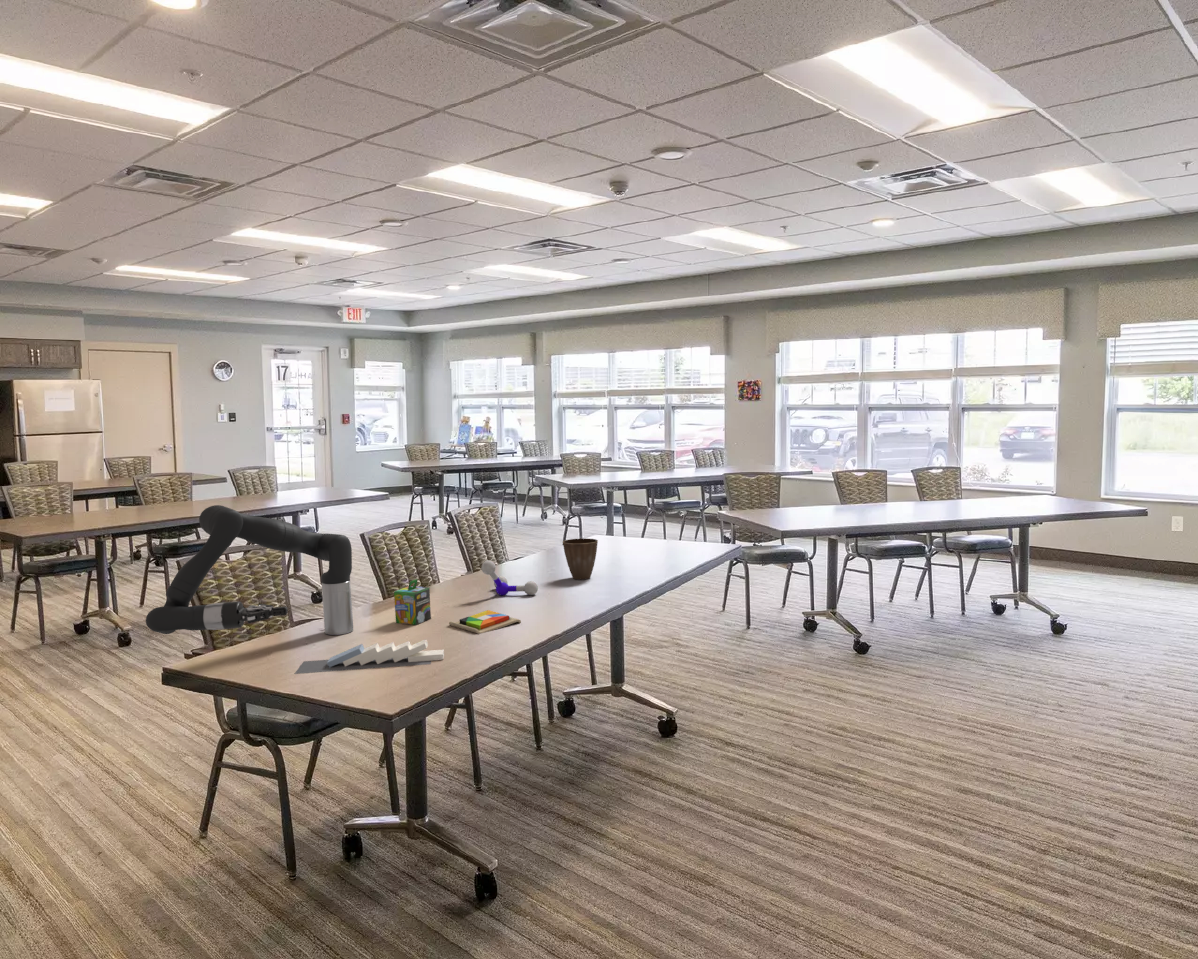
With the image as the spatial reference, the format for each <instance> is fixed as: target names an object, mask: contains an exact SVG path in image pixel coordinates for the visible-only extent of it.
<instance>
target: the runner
mask: <svg viewBox="0 0 1198 959" xmlns="http://www.w3.org/2000/svg"><path fill="white" fill-rule="evenodd" d="M328 660H329V659H317V660H305V661H303V662H302V663H301V664H300V666H299V667H298V668H297V670H296V671H295V672H294V675H299V674H300V675H301V674H312V673H314V674H315V673H326V672H327V673H329V672H341V671H355V670H356V671H357V670H369V669H381V668H382V669H383V668H384V669H385V668H395V667H409V666H410V667H412V666H425V665H426V666H427V665H431V664H432V661H433V660H431V661H417V662H408V657H406V658H404V659H402V660H399V661H397V662H394V660H393V658H391V659H388V660H386V661H384V662H382V663H379V664H377V662H376V660H373V661H370V662H368V663H366V664H363V665H361V664H360V662H359V661H357V662H354V663H352V664H350V665H348V666H345V665H344V663H343V662H341V663H339V664H336V665H334V666H332V667H330V668H329V666H328V664H327V662H328Z"/></svg>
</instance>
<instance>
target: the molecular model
mask: <svg viewBox="0 0 1198 959" xmlns="http://www.w3.org/2000/svg"><path fill="white" fill-rule="evenodd" d="M496 568H497V566H496V564H495V562H494V561H492V560H485V561H483V563H482V564H481V571H482V573H483V574H485V575H487V576H490V578H491V579H492V582H493V585H494V588H495V592H496V593H497V594H498V595H499V596H502V597H503V596H506V595H508V593H509V592H515V593H516V592H524V593H525V594H526V595H528V596H534V595H535V594H537V593H538V591H539V590H538V589H539V585H538V584H537V582H535V581H532V580H531V581H527V582H526V583H524V584H523V585H509V584H508V580H507V578H506V576H501V575H500V576H499V575H498V574H497V572H495V571H496Z"/></svg>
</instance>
